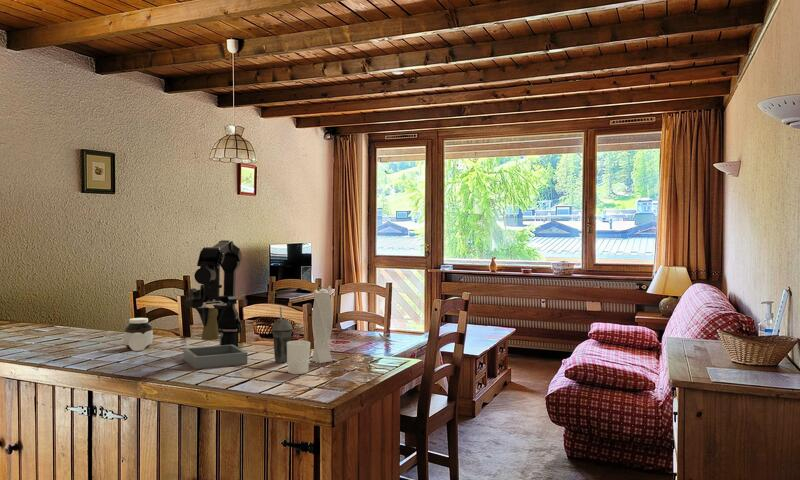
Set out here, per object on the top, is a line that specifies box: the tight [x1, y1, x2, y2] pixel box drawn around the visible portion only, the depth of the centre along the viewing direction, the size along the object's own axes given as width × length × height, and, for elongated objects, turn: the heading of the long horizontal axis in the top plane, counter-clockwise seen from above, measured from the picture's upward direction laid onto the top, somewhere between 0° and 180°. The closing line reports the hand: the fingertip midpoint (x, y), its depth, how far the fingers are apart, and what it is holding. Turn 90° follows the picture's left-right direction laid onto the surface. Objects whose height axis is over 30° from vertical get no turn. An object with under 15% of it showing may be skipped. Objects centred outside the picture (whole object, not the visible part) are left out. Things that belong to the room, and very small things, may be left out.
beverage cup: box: [271, 306, 293, 364], centre depth 210 cm, size 7×7×20 cm
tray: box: [183, 345, 248, 370], centre depth 208 cm, size 18×18×4 cm
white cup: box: [286, 339, 311, 375], centre depth 194 cm, size 8×8×10 cm
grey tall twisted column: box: [309, 285, 334, 365], centre depth 211 cm, size 8×8×28 cm
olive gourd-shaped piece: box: [201, 307, 220, 341], centre depth 208 cm, size 6×6×11 cm
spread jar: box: [123, 317, 154, 352], centre depth 229 cm, size 12×11×12 cm
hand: (210, 325), depth 208 cm, fingers closed on olive gourd-shaped piece, 4 cm apart
